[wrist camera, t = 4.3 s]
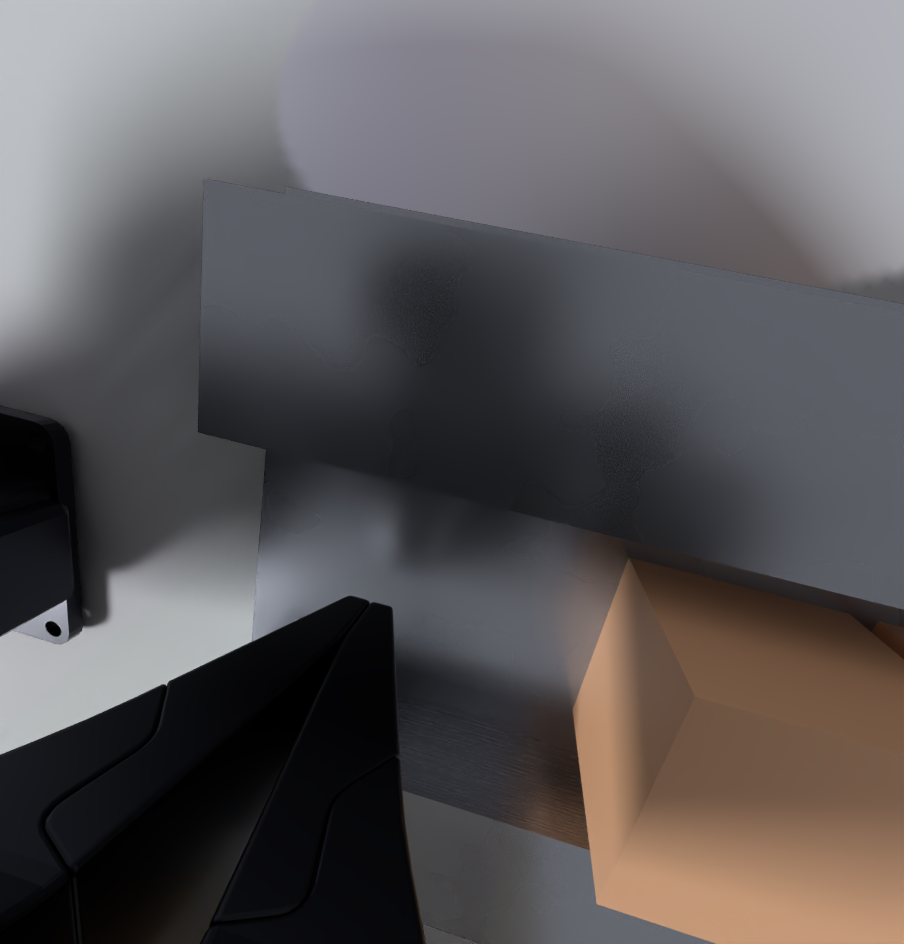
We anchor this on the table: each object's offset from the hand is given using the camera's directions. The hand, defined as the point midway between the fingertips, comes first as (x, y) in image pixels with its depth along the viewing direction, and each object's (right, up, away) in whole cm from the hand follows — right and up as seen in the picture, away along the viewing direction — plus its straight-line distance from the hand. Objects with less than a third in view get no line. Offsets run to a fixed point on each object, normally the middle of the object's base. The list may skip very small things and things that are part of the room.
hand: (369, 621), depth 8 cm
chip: (+6, -1, +1) cm, 7 cm away
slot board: (+5, 0, +2) cm, 6 cm away
